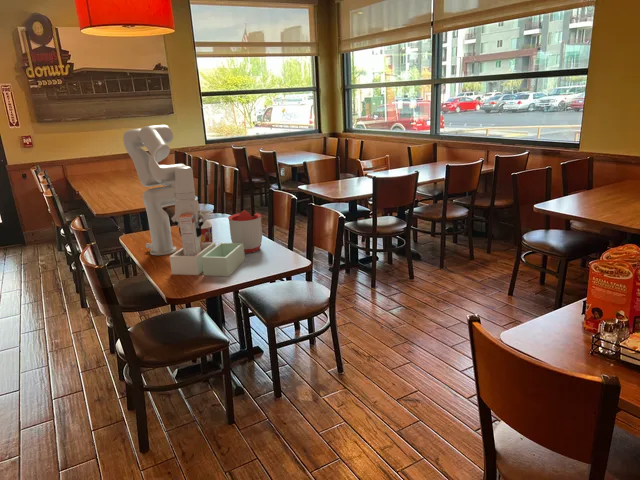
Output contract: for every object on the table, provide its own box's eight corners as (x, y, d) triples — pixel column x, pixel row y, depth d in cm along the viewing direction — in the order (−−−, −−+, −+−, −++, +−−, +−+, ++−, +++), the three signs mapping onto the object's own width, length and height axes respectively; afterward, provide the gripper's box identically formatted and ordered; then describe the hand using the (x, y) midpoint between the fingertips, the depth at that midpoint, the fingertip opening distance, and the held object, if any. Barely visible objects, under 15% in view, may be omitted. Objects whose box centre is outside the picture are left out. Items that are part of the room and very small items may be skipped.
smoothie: (218, 251, 226) (214, 211, 221) (207, 256, 219) (202, 215, 213) (204, 249, 230) (199, 210, 224) (193, 255, 223) (188, 214, 217)
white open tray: (172, 274, 199) (169, 256, 196) (193, 258, 218) (190, 242, 215) (198, 275, 196) (195, 257, 194) (217, 259, 215) (215, 242, 213)
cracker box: (189, 253, 213) (183, 208, 207) (202, 252, 213) (197, 207, 207) (183, 263, 200) (177, 216, 193) (198, 262, 200) (192, 215, 194)
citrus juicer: (270, 244, 233) (267, 205, 227) (256, 256, 217) (252, 214, 211) (241, 243, 237) (237, 205, 232) (225, 254, 221) (221, 213, 216)
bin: (203, 275, 196) (201, 257, 194) (222, 259, 215) (220, 242, 212) (228, 275, 194) (226, 257, 191) (244, 259, 213) (243, 243, 210)
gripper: (162, 197, 196) (168, 237, 201) (201, 198, 193) (205, 239, 198) (171, 193, 203) (176, 232, 208) (208, 194, 200) (213, 233, 205)
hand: (190, 235), depth 203 cm, fingers closed on cracker box, 6 cm apart
